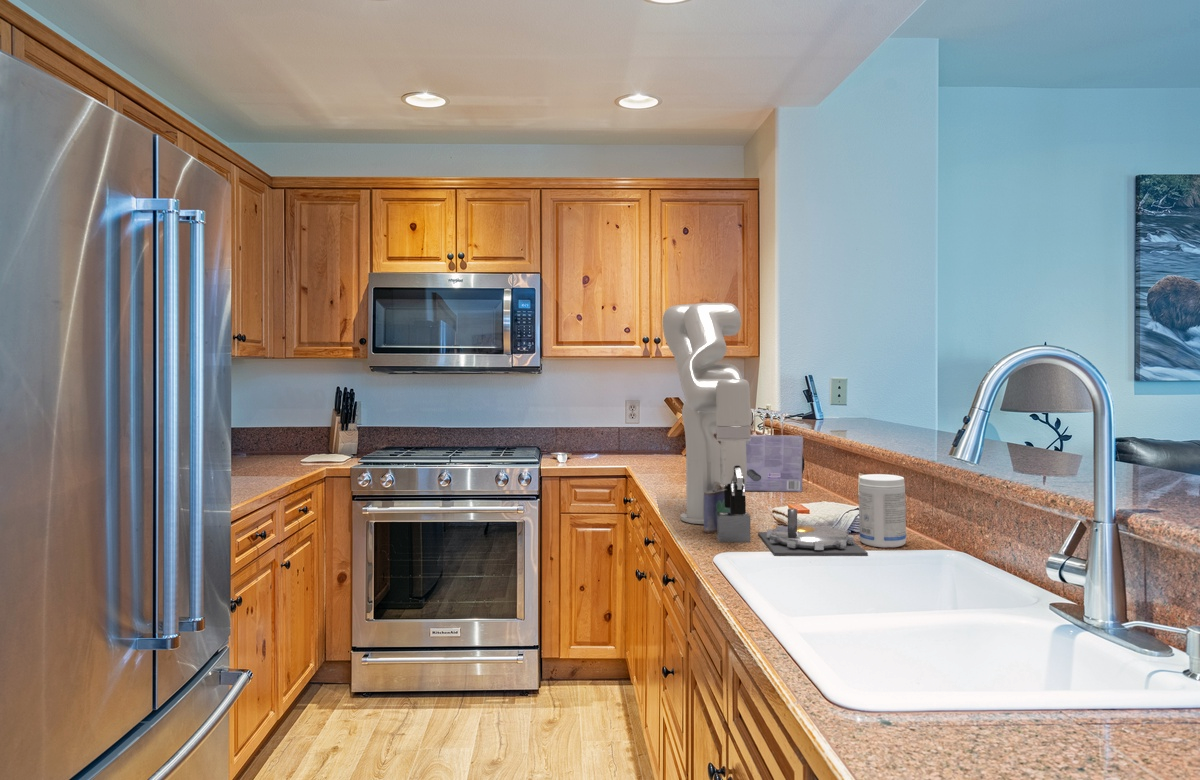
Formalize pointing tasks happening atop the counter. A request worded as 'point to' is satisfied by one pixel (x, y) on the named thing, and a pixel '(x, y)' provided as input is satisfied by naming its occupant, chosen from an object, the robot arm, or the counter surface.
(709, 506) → the flask
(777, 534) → the sprocket
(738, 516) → the grey rectangular block
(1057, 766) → the counter surface
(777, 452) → the purple product box
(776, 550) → the base mat
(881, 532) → the supplement tub
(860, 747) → the counter surface
